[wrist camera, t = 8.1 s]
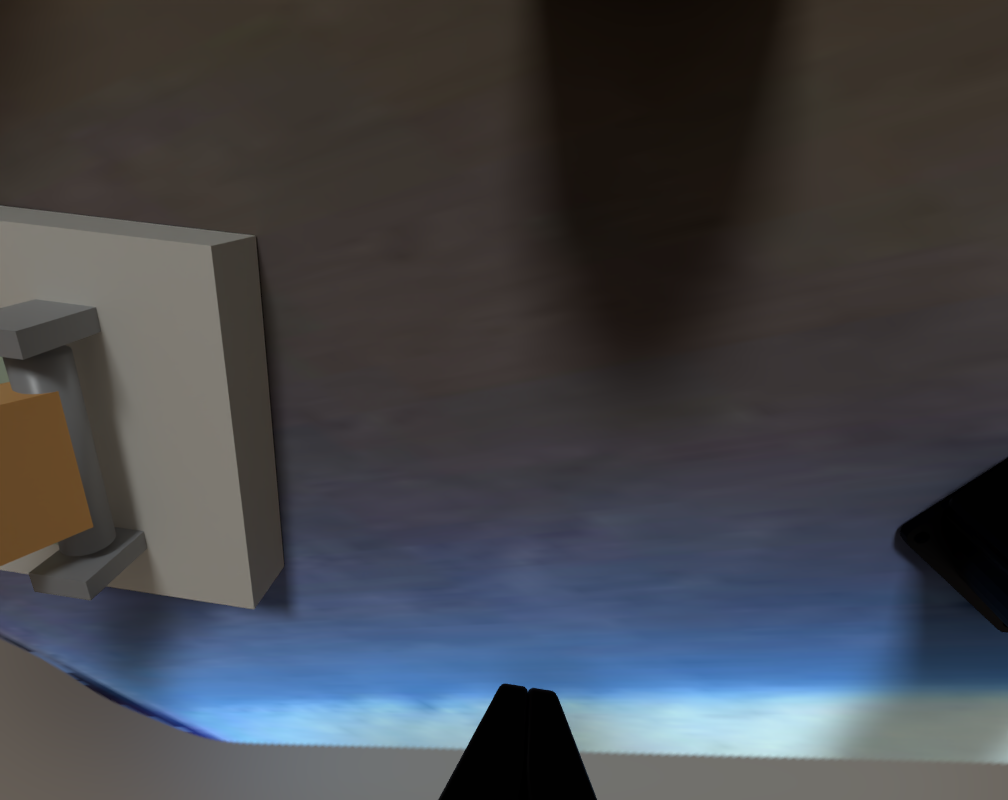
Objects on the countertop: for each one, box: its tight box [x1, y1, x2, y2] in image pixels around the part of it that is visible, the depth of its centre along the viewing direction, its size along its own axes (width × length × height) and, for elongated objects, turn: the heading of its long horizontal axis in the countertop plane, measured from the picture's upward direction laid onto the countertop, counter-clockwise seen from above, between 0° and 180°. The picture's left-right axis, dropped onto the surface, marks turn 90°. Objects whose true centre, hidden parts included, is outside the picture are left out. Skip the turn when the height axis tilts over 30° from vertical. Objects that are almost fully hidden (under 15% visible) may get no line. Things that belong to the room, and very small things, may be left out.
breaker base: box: [0, 206, 284, 609], centre depth 19 cm, size 11×14×5 cm
